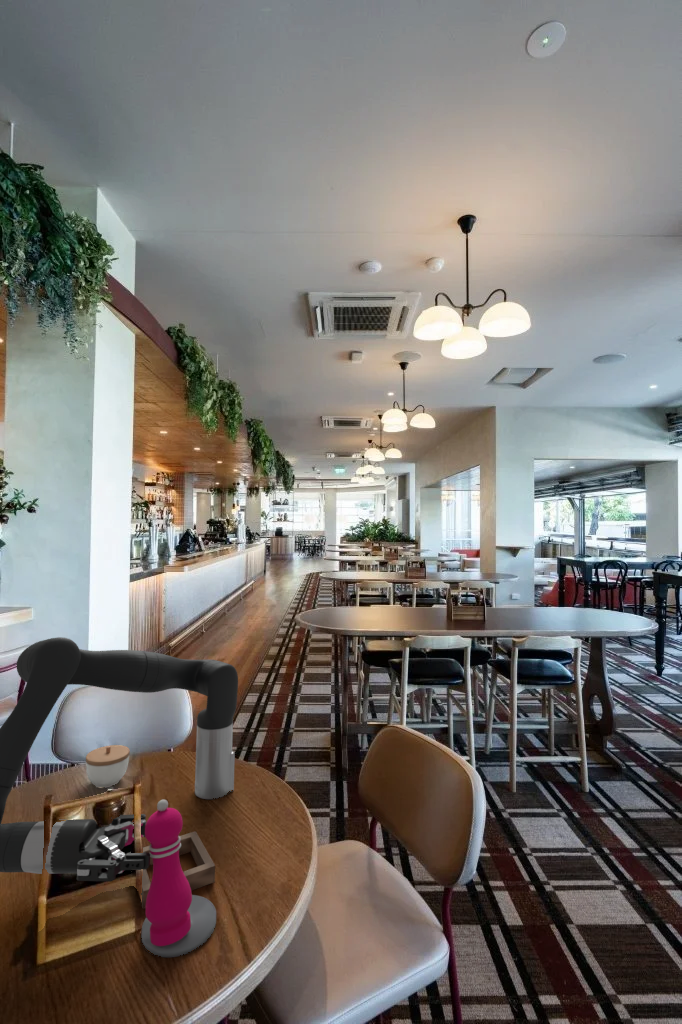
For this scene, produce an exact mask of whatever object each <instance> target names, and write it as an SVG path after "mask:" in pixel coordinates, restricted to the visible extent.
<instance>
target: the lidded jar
mask: <svg viewBox="0 0 682 1024" xmlns="http://www.w3.org/2000/svg"><path fill="white" fill-rule="evenodd" d="M130 752H131V750H130V748H129V747H128V746H126V745H119V744H114V745H113V744H112V745H110V744H109V745H106V746H101V747H97V748H95V749H93V750H91V751H89V752H88V753H86V756H85V771H86V776H87V779H88V780H89V782H90V783H91V784H92V785H93V786H94V785H95V786H96V787H95V786H94V787H95V788H97V787H105V788H104V789H106V788H111V787H113V786H112V785H114V786H115V784H116V785H117V784H118V783H119V782H120V780H121V779H122V778H123V777H124V775H125V774H126V772H127V770H128V766H129V761H130V754H131V753H130Z"/></svg>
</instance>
